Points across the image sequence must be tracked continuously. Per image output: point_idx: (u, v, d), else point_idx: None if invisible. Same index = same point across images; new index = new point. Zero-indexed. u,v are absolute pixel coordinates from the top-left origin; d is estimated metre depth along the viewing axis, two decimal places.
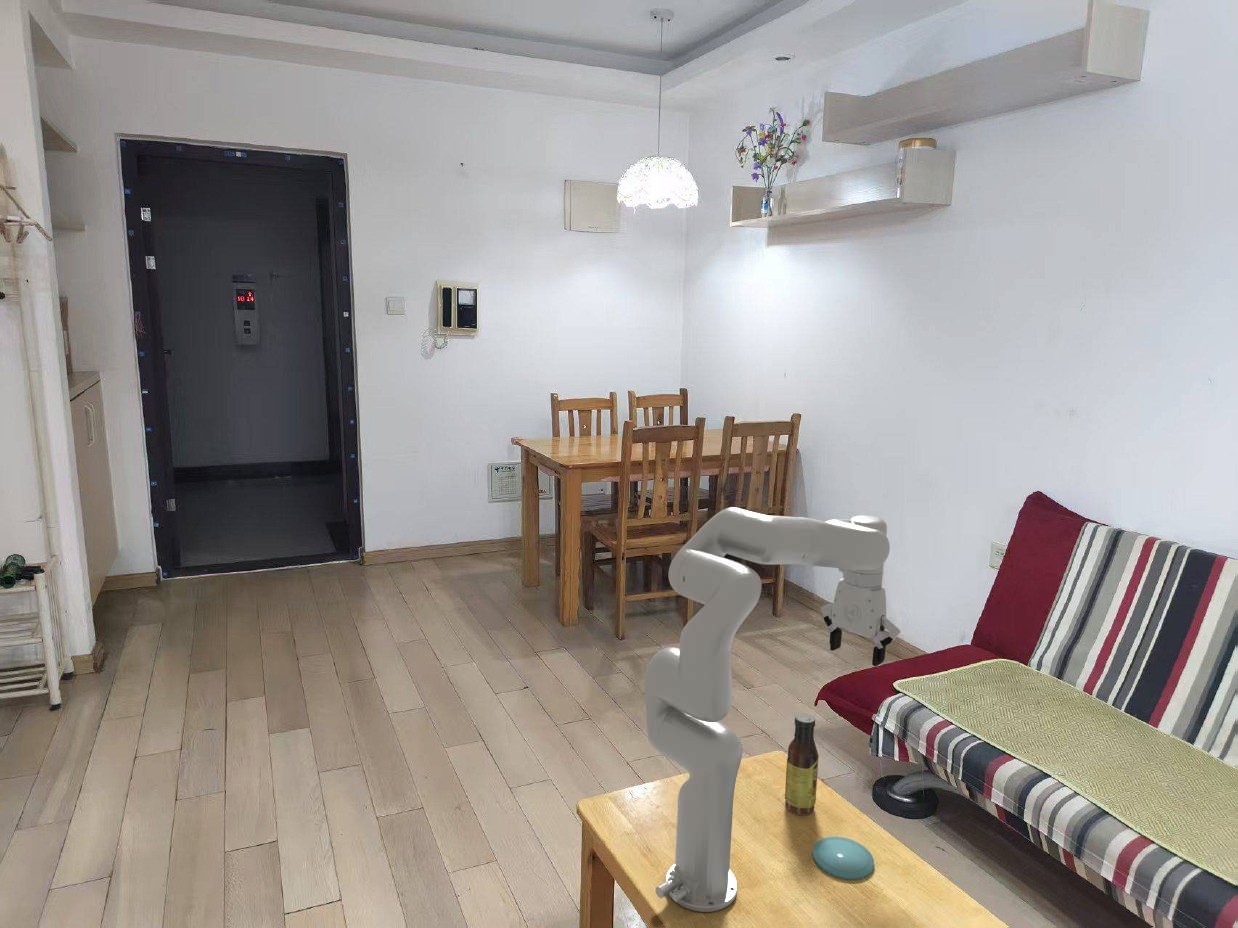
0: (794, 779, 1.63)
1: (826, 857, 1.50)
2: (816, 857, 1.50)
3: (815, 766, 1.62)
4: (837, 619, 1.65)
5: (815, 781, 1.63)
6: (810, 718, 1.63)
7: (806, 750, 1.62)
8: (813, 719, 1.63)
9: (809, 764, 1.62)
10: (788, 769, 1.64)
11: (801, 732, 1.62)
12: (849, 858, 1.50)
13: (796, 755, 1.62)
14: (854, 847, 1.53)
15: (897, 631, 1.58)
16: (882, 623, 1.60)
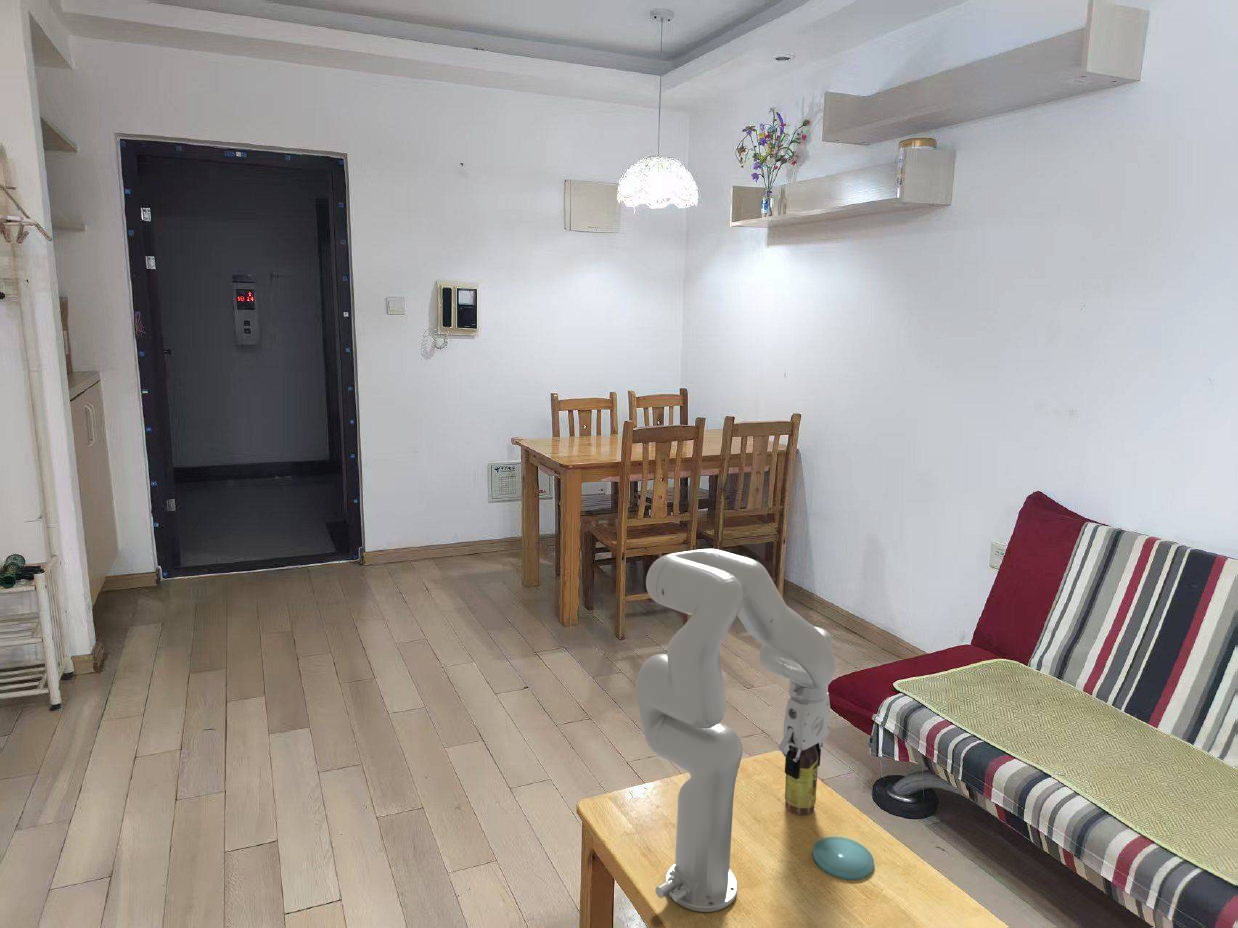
0: (794, 779, 1.63)
1: (826, 857, 1.50)
2: (816, 857, 1.50)
3: (815, 766, 1.62)
4: (806, 742, 1.59)
5: (815, 781, 1.63)
6: None
7: (806, 751, 1.62)
8: None
9: (809, 764, 1.62)
10: None
11: None
12: (849, 858, 1.50)
13: None
14: (854, 847, 1.53)
15: None
16: None
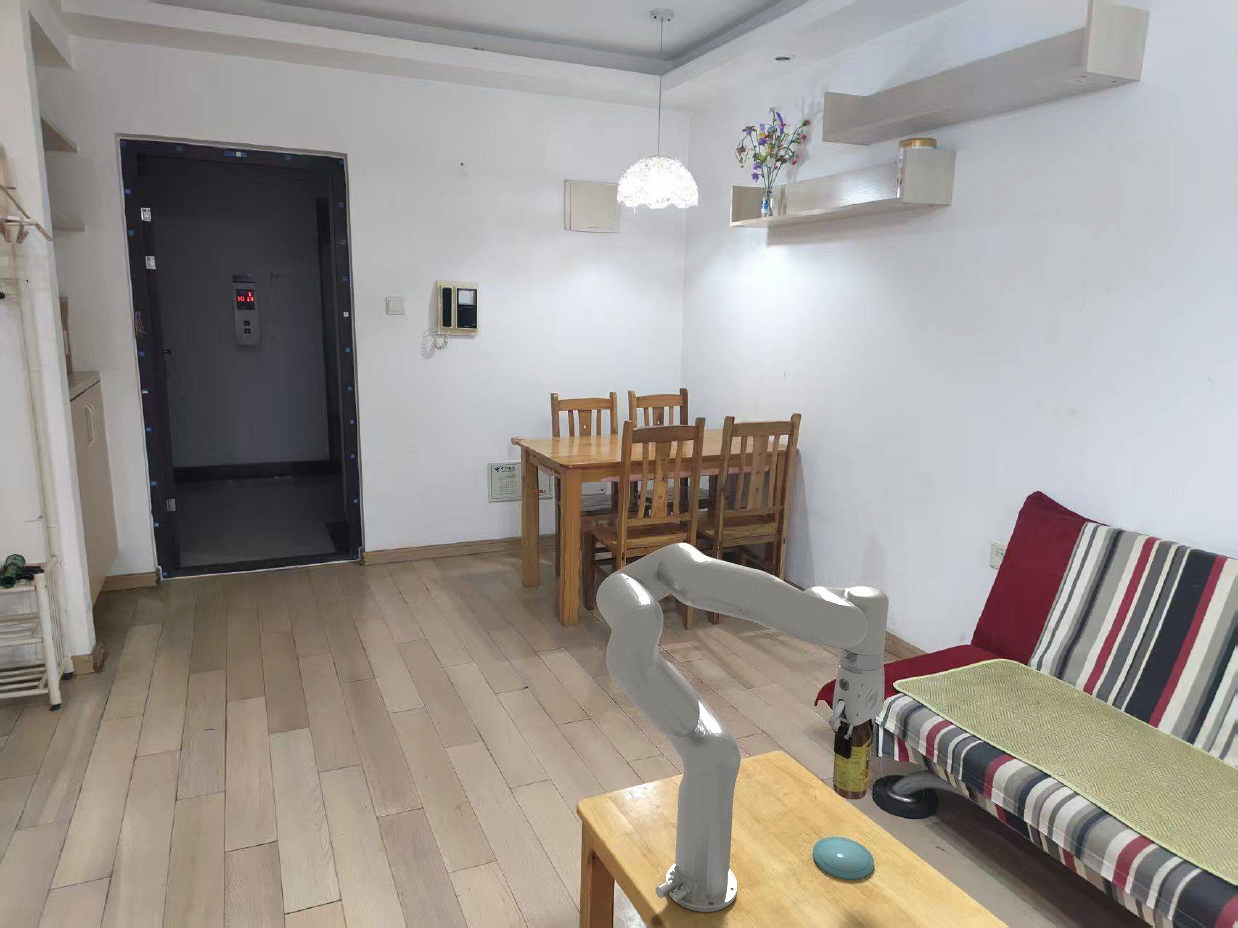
0: (845, 759, 1.44)
1: (826, 857, 1.50)
2: (816, 857, 1.50)
3: (868, 744, 1.44)
4: (860, 716, 1.41)
5: (868, 761, 1.45)
6: None
7: (858, 727, 1.43)
8: None
9: (861, 742, 1.43)
10: None
11: None
12: (849, 858, 1.50)
13: None
14: (854, 847, 1.53)
15: None
16: None
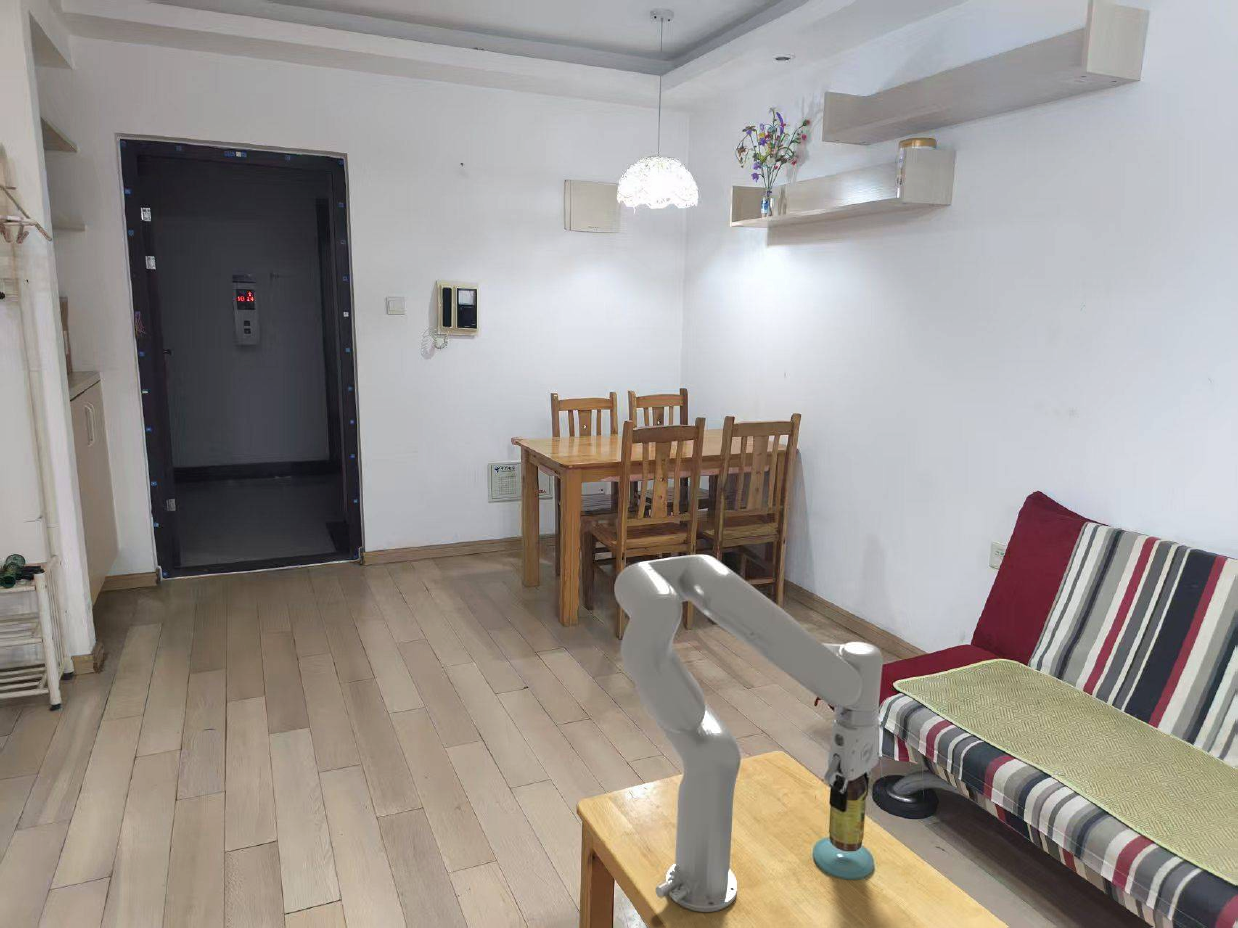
0: (841, 812, 1.46)
1: (826, 857, 1.50)
2: (816, 857, 1.50)
3: (863, 797, 1.46)
4: (855, 771, 1.43)
5: (863, 814, 1.47)
6: None
7: (854, 780, 1.45)
8: None
9: (857, 796, 1.45)
10: None
11: None
12: (849, 858, 1.50)
13: None
14: None
15: None
16: None
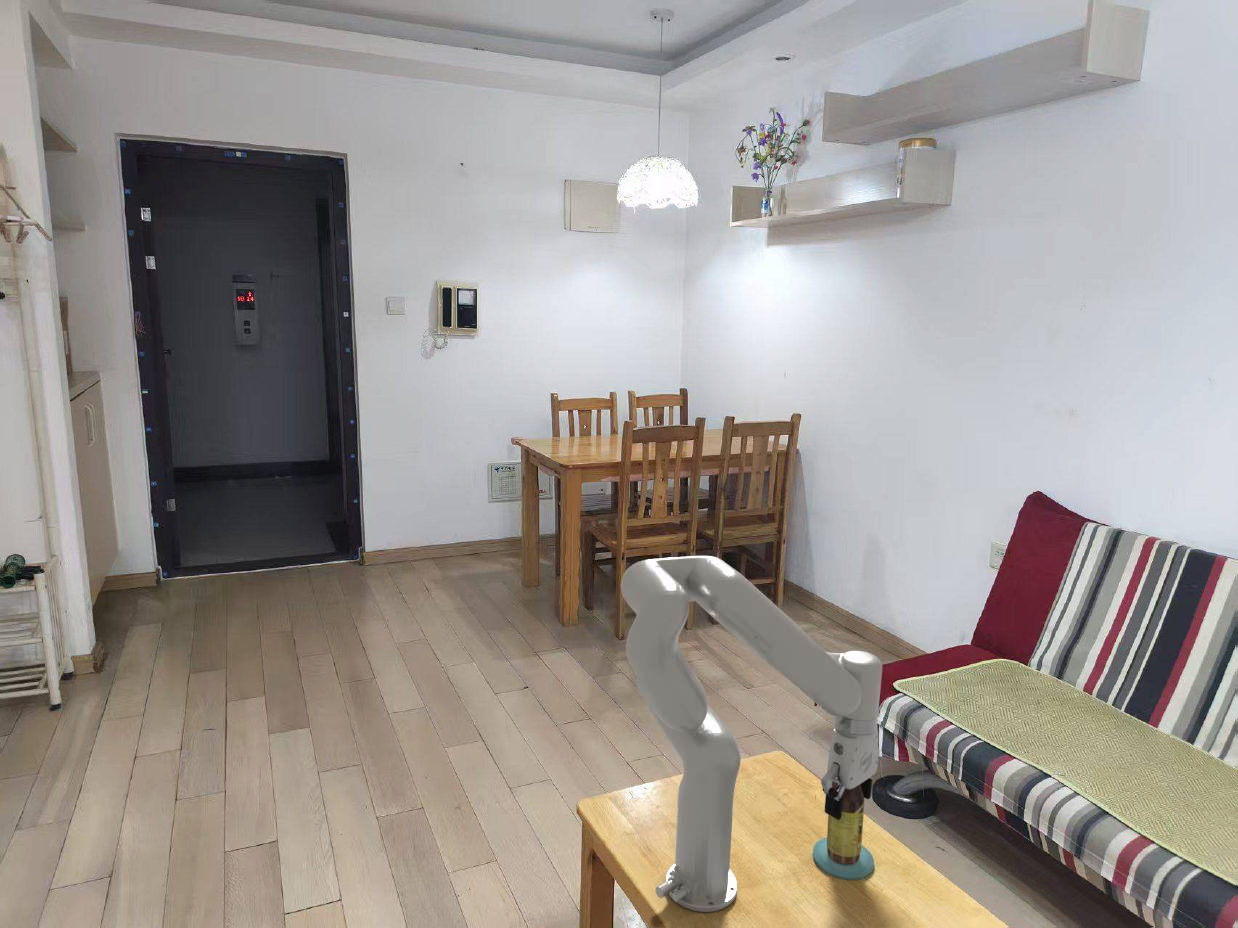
0: (838, 825, 1.47)
1: (826, 857, 1.50)
2: (816, 857, 1.50)
3: (861, 810, 1.47)
4: (854, 780, 1.43)
5: (861, 827, 1.48)
6: None
7: (851, 793, 1.46)
8: None
9: (854, 808, 1.46)
10: None
11: None
12: None
13: None
14: None
15: None
16: None
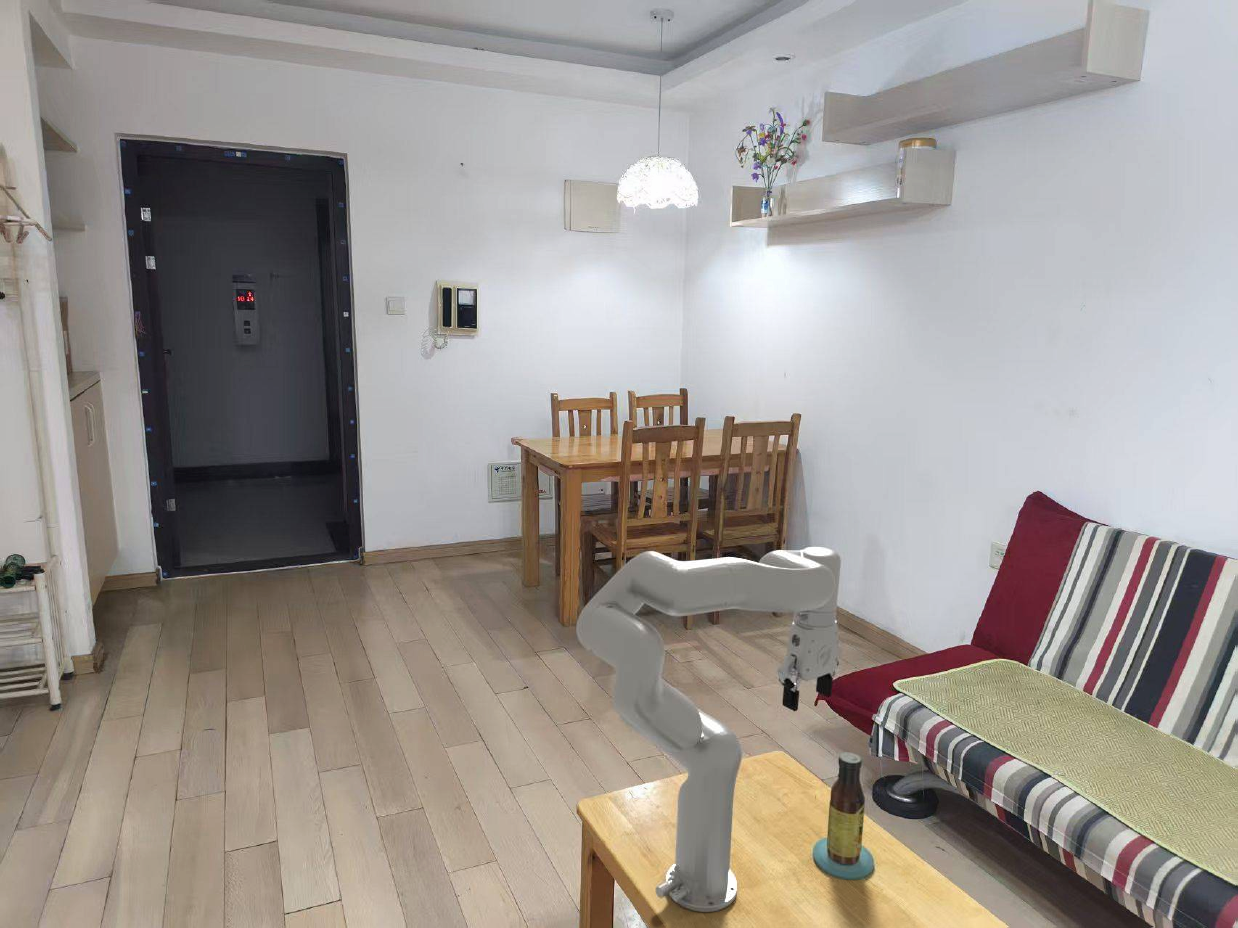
0: (839, 825, 1.47)
1: (826, 857, 1.50)
2: (816, 857, 1.50)
3: (861, 811, 1.47)
4: (810, 672, 1.46)
5: (861, 827, 1.48)
6: (856, 758, 1.47)
7: (852, 794, 1.46)
8: (859, 759, 1.47)
9: (855, 809, 1.46)
10: (831, 814, 1.48)
11: (846, 773, 1.46)
12: None
13: (840, 799, 1.46)
14: None
15: None
16: None
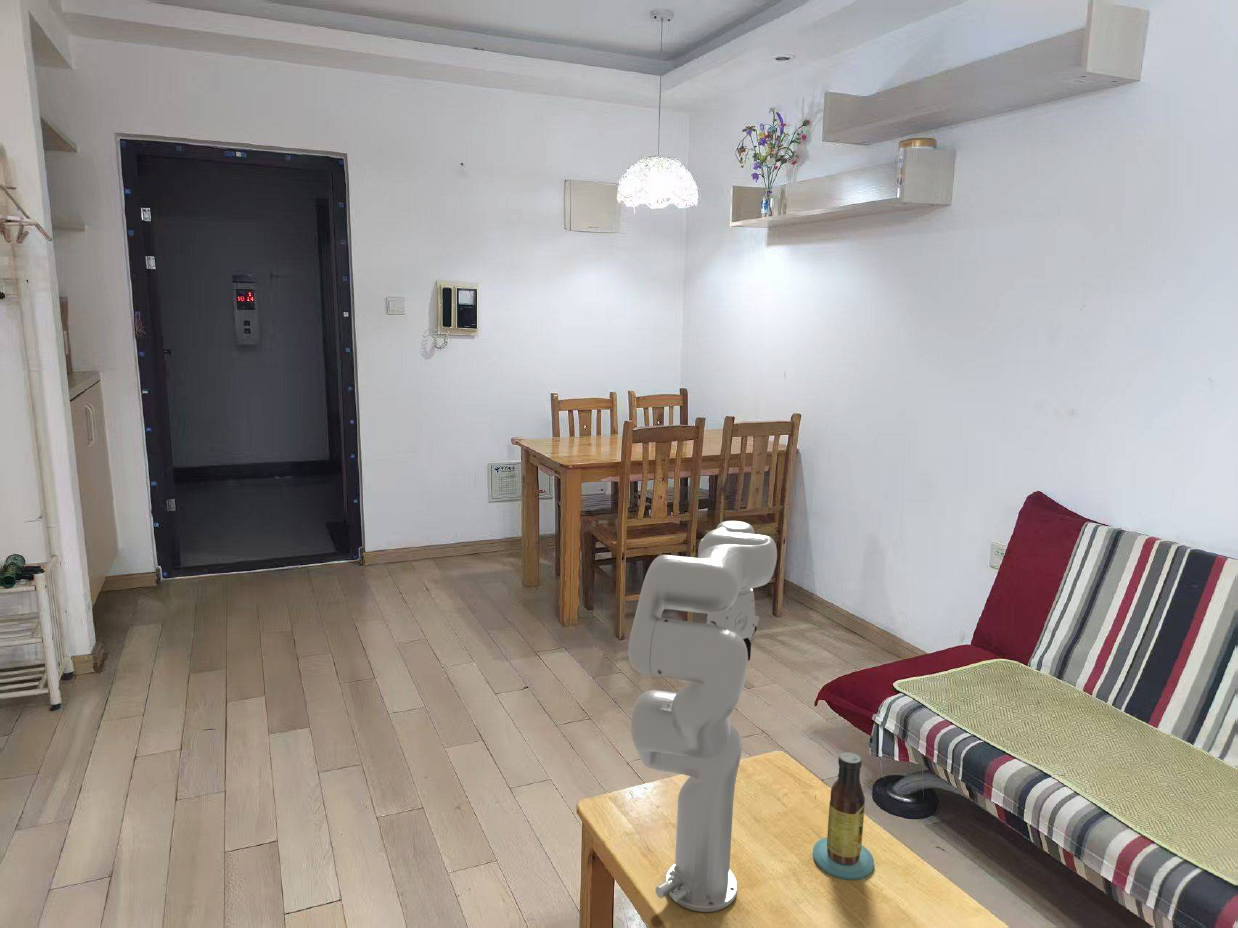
0: (839, 825, 1.47)
1: (826, 857, 1.50)
2: (816, 857, 1.50)
3: (861, 811, 1.47)
4: None
5: (861, 827, 1.48)
6: (856, 758, 1.47)
7: (852, 794, 1.46)
8: (859, 759, 1.47)
9: (855, 809, 1.46)
10: (831, 814, 1.48)
11: (846, 773, 1.46)
12: None
13: (840, 799, 1.46)
14: None
15: None
16: None
